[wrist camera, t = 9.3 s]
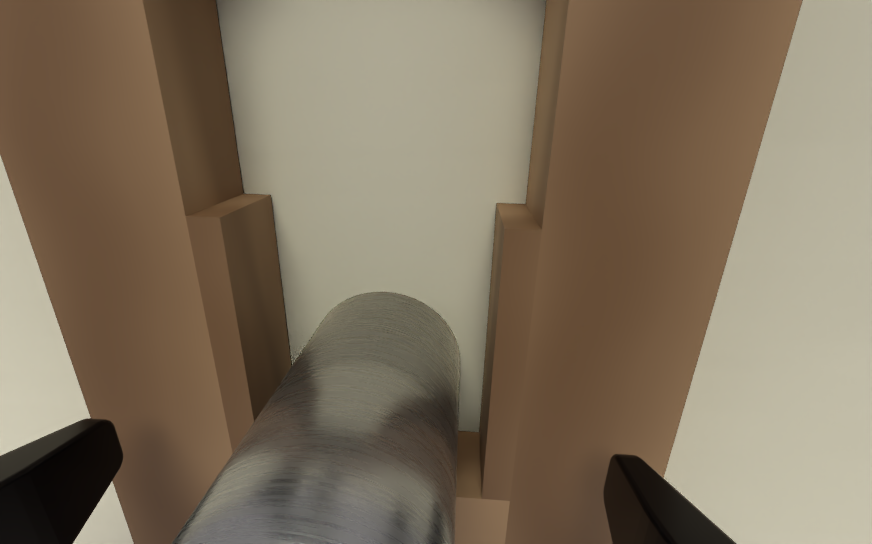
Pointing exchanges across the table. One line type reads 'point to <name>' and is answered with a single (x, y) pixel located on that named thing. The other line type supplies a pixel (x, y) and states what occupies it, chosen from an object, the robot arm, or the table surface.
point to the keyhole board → (511, 263)
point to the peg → (349, 438)
